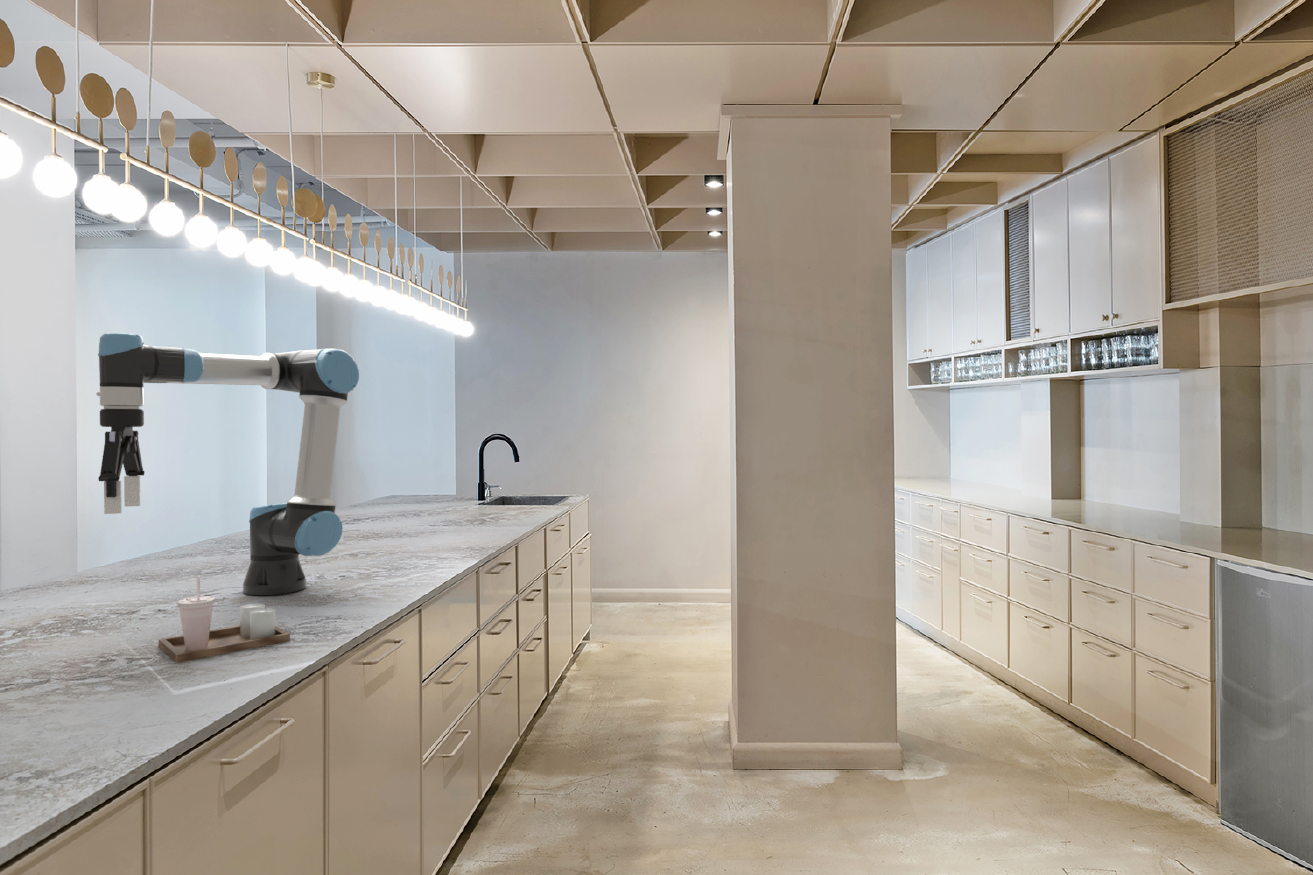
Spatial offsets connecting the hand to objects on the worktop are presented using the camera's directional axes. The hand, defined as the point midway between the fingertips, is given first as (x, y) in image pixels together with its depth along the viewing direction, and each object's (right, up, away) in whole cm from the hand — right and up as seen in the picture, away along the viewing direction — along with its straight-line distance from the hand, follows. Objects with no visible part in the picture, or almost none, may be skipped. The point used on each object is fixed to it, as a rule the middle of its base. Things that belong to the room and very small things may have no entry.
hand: (123, 509), depth 159 cm
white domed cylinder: (+31, -26, -4) cm, 41 cm away
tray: (+25, -27, -6) cm, 37 cm away
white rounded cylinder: (+27, -26, +1) cm, 37 cm away
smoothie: (+21, -27, -9) cm, 35 cm away
